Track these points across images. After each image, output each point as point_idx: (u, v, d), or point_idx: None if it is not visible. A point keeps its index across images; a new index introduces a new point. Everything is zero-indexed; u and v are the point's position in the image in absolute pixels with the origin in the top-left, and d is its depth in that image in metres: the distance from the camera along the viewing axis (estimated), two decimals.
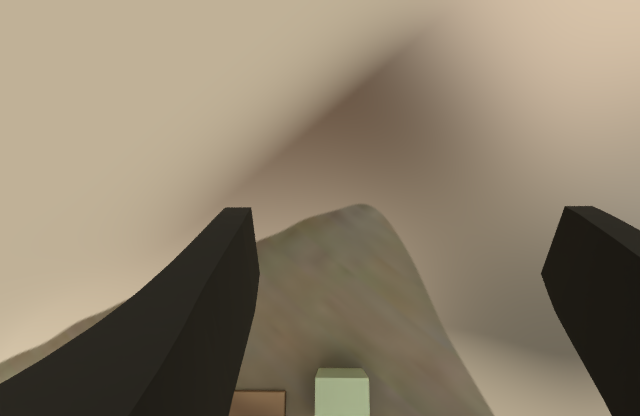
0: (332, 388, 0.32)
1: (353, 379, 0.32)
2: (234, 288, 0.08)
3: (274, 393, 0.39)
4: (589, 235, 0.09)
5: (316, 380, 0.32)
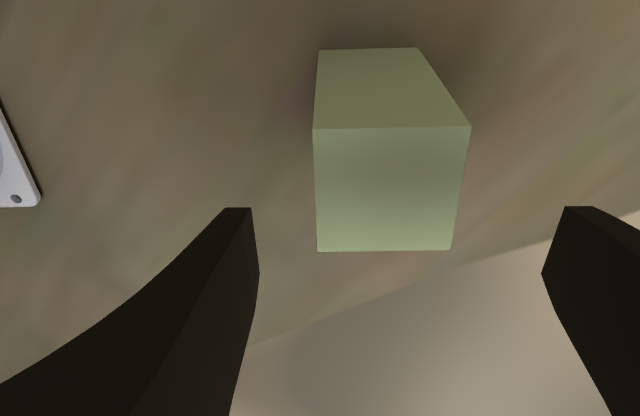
0: (436, 171, 0.12)
1: (451, 218, 0.12)
2: (234, 288, 0.08)
3: None
4: (589, 235, 0.09)
5: (463, 129, 0.11)
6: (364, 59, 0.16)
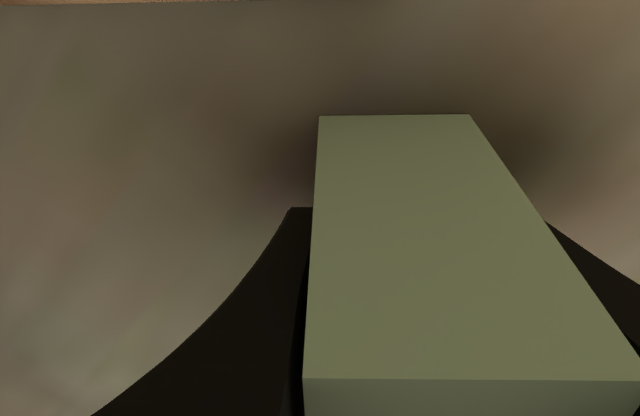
0: None
1: None
2: None
3: None
4: None
5: (636, 386, 0.05)
6: (391, 140, 0.10)
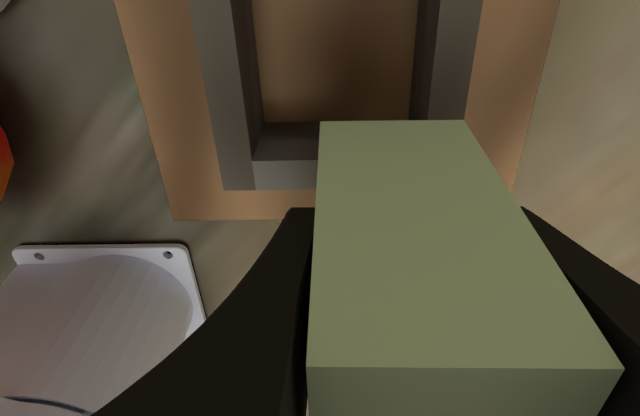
0: None
1: None
2: None
3: None
4: None
5: (607, 373, 0.05)
6: (388, 146, 0.11)
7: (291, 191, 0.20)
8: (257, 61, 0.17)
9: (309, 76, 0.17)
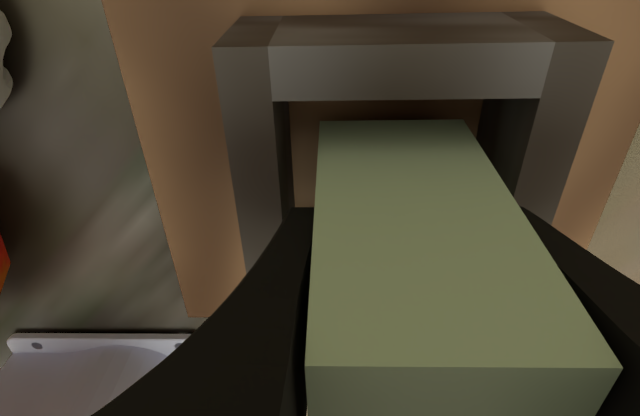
0: None
1: None
2: None
3: None
4: None
5: (605, 372, 0.05)
6: (388, 145, 0.11)
7: None
8: (292, 165, 0.15)
9: None
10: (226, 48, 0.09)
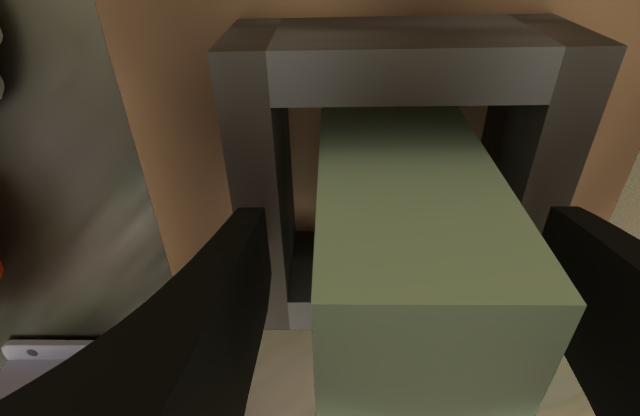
0: (514, 360, 0.07)
1: (529, 413, 0.08)
2: (249, 288, 0.08)
3: None
4: (574, 235, 0.09)
5: (572, 310, 0.06)
6: (385, 126, 0.12)
7: None
8: (291, 171, 0.14)
9: None
10: (222, 53, 0.09)
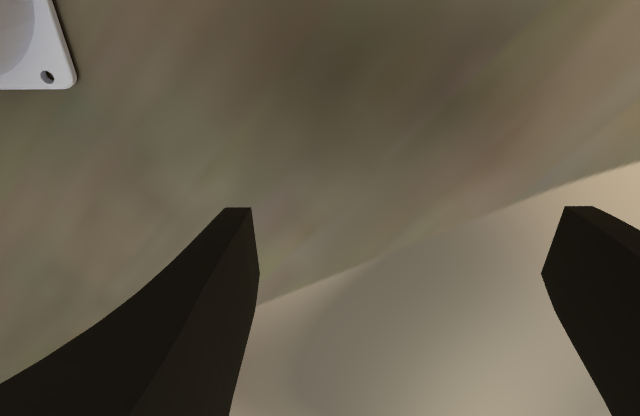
0: None
1: None
2: (234, 287, 0.09)
3: None
4: (589, 235, 0.09)
5: None
6: None
7: None
8: None
9: None
10: None
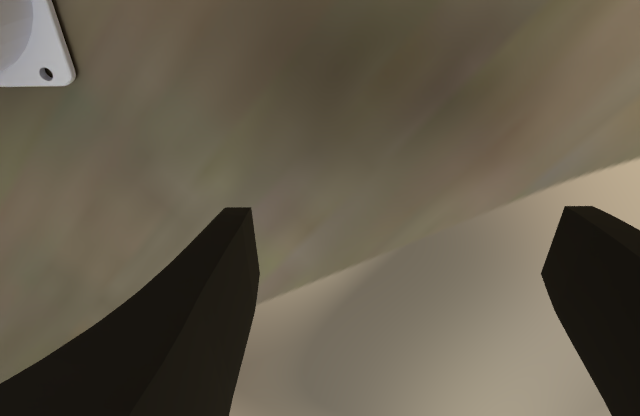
0: None
1: None
2: (234, 287, 0.08)
3: None
4: (589, 235, 0.09)
5: None
6: None
7: None
8: None
9: None
10: None
